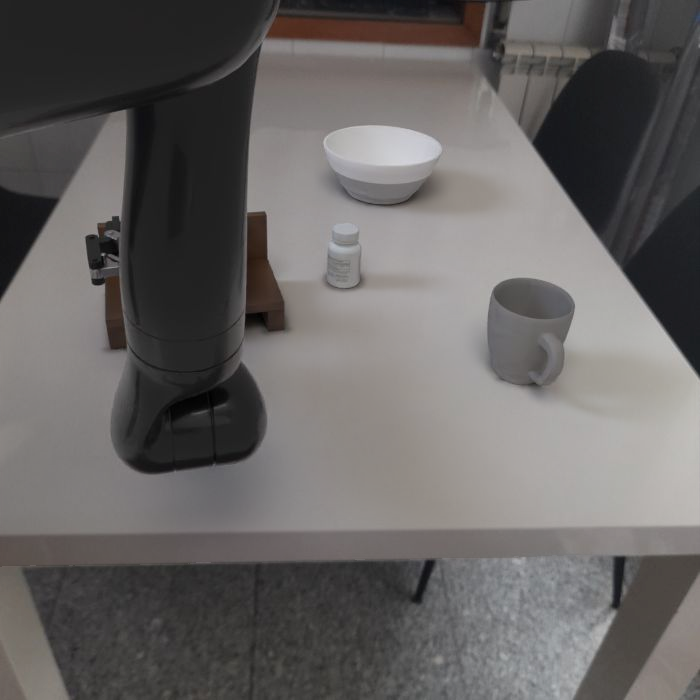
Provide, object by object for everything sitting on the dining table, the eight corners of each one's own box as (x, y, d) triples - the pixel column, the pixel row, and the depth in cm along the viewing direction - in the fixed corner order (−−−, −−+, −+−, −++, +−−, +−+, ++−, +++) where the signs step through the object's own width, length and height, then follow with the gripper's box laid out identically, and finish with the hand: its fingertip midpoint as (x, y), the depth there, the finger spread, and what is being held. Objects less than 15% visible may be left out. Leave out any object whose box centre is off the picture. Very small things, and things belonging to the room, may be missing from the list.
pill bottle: (345, 269, 99) (348, 218, 94) (366, 283, 96) (369, 230, 92) (320, 278, 96) (321, 226, 92) (340, 292, 94) (343, 239, 89)
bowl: (303, 179, 125) (303, 132, 120) (399, 165, 132) (403, 120, 128) (355, 224, 111) (358, 173, 106) (459, 205, 118) (466, 157, 114)
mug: (466, 351, 84) (479, 279, 79) (535, 344, 86) (553, 274, 80) (507, 417, 75) (524, 341, 69) (584, 408, 76) (607, 333, 71)
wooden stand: (110, 349, 81) (96, 271, 75) (109, 295, 90) (97, 222, 85) (284, 329, 86) (284, 255, 80) (266, 280, 95) (265, 210, 90)
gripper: (250, 254, 63) (224, 183, 75) (78, 269, 59) (81, 191, 72) (252, 326, 67) (228, 247, 80) (92, 344, 63) (93, 258, 76)
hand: (158, 221), depth 76 cm, fingers open, 8 cm apart
